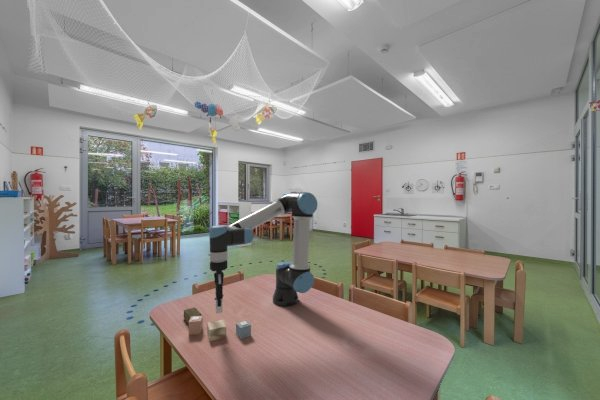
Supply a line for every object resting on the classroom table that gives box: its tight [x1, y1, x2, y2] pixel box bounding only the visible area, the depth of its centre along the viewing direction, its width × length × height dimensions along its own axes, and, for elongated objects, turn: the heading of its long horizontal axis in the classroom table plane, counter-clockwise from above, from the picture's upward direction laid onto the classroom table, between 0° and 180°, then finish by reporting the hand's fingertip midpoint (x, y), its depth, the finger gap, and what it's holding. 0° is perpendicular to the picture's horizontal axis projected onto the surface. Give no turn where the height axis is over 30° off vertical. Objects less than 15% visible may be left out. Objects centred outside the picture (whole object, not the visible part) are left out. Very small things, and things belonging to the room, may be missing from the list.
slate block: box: [235, 319, 252, 340], centre depth 114 cm, size 5×5×5 cm
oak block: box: [206, 319, 227, 342], centre depth 113 cm, size 7×7×5 cm
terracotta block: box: [188, 315, 204, 336], centre depth 116 cm, size 5×5×6 cm
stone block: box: [183, 307, 203, 325], centre depth 125 cm, size 6×12×5 cm, turn 41°
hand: (219, 312), depth 114 cm, fingers closed
